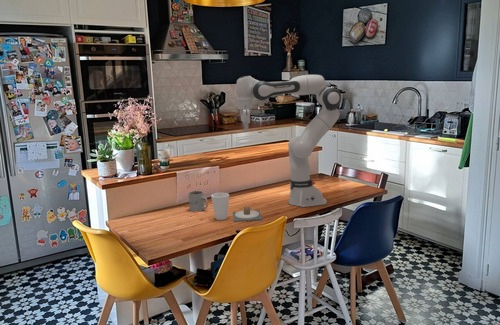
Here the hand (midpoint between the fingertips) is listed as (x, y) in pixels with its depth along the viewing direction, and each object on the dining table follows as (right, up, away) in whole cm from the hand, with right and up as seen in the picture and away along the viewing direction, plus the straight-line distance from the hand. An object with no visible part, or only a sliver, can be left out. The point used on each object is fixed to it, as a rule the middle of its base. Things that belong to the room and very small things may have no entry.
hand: (245, 130), depth 242 cm
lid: (+1, -47, -9) cm, 48 cm away
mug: (-27, -46, +6) cm, 54 cm away
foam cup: (-13, -49, -10) cm, 51 cm away
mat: (+1, -48, -9) cm, 48 cm away
